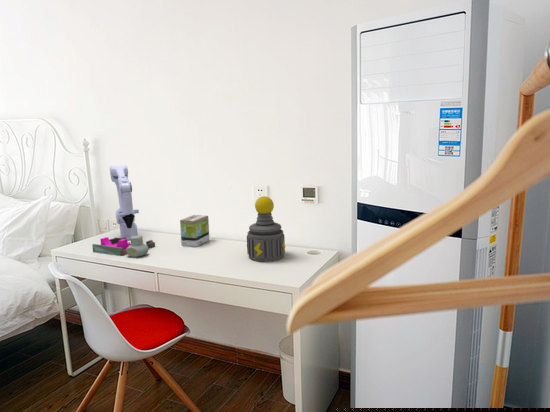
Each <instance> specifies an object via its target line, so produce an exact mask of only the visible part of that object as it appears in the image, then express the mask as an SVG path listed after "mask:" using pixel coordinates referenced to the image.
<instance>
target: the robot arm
mask: <svg viewBox="0 0 550 412" xmlns="http://www.w3.org/2000/svg"><path fill="white" fill-rule="evenodd" d="M128 168H129V167H128V165H118V166H117V165H116V166H114V165H113V166H109V175H110V179H111V182H113V183H114V184H115V185H116V192H117V199H118V204H119V208H118V209H117V210H116V211H115V218H116V223H117V225H119V233H120V238H123V237H126V239H128V241H129V240H130V238H131V237H132V236H136V235H138V225H137V224H136V223H135V221H136V218H135V217H136V216H135V214H139V213H140V211H139V209H134V206H133V204H134V203H133V195H132V193H133V184H132V182H130V181H129V169H128ZM130 241H131V240H130Z"/></svg>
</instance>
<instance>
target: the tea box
mask: <svg viewBox="0 0 550 412" xmlns="http://www.w3.org/2000/svg"><path fill="white" fill-rule="evenodd" d="M179 223H180V227H179V228H180V243H181V246H182V247H192V248H196V247H199V246H201V245H202V244H204V243H207V242H208V241H210V224H209V223H210V222H209V215H203V214H200V215H199V214H193V215H190V216H188V217H185V218H182V219H180V220H179Z"/></svg>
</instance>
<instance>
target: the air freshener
mask: <svg viewBox="0 0 550 412" xmlns="http://www.w3.org/2000/svg"><path fill="white" fill-rule="evenodd" d="M130 243H131V245H130V246H128V248H127V249H126V252H127V254H126V255H128V256H130V257H132V258H139V257H143V256H145V255H146V254H148V252H149V250H150V249H149V248H148V246H147V245H146V243H144V240H143V235H140V234H139V235H136V236H132V237H131V238H130Z"/></svg>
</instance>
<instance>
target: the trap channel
mask: <svg viewBox="0 0 550 412" xmlns="http://www.w3.org/2000/svg"><path fill="white" fill-rule="evenodd" d="M121 239H126V237H123V238H121V237H113V238H110V239H109V241H110V242H111V244H112V245H114V244H118V241H119V240H121ZM155 242H156V241H155ZM155 242H154V240H153V239H151V240H147V241H145V244H146V245H147V246H148V248H149V250H150V249H152V248H155V247H156V243H155ZM91 245H92V252H93V253H99V254H106V255H113V256H121V257H123V256H126V255H128V254H127V252H126V249H124V250H123V248H121V247H113V246H106V245H101V244H98V243H92V244H91Z"/></svg>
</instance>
